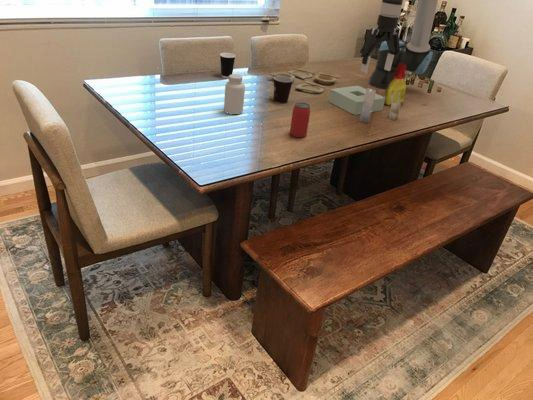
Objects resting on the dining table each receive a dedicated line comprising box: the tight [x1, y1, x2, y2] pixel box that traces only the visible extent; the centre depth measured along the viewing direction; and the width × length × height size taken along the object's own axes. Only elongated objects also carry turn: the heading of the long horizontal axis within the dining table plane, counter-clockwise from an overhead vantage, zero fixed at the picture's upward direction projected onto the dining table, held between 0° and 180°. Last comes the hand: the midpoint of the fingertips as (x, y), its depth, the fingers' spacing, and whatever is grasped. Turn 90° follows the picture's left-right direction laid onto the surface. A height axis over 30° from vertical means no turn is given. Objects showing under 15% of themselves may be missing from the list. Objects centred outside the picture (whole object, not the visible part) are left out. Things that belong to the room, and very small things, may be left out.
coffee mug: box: [273, 76, 294, 104], centre depth 198 cm, size 12×9×10 cm
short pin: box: [387, 102, 402, 121], centre depth 193 cm, size 4×4×7 cm
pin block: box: [327, 85, 385, 116], centre depth 202 cm, size 18×18×6 cm
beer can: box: [289, 101, 311, 138], centre depth 165 cm, size 7×7×12 cm
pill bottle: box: [223, 73, 246, 115], centre depth 177 cm, size 8×8×15 cm
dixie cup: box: [219, 52, 236, 79], centre depth 218 cm, size 8×8×11 cm
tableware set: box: [268, 67, 341, 94], centre depth 227 cm, size 35×29×4 cm
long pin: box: [358, 87, 377, 124], centre depth 184 cm, size 4×4×14 cm
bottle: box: [384, 63, 407, 106], centre depth 207 cm, size 12×6×20 cm, turn 120°
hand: (375, 71), depth 176 cm, fingers open, 13 cm apart
